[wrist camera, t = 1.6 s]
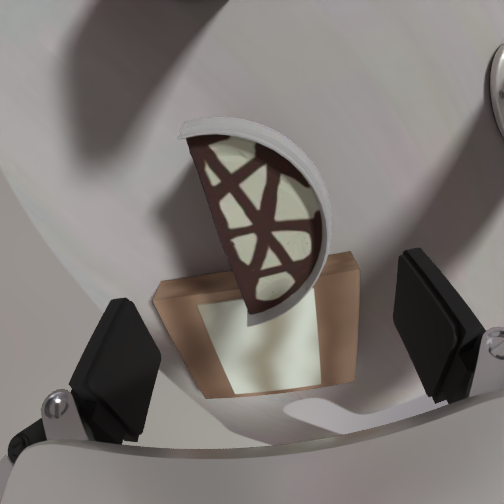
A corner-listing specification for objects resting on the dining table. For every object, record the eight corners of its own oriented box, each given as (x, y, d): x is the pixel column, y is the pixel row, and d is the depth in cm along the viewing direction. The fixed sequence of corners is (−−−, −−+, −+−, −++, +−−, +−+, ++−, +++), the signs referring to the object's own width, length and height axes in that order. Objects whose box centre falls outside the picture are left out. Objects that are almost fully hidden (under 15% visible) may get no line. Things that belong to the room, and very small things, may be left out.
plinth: (350, 251, 26) (360, 270, 24) (349, 362, 34) (354, 382, 31) (161, 281, 28) (152, 301, 26) (208, 380, 36) (205, 400, 33)
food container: (322, 235, 26) (350, 312, 17) (252, 251, 27) (249, 333, 18) (289, 90, 20) (312, 89, 11) (209, 111, 21) (173, 127, 12)
